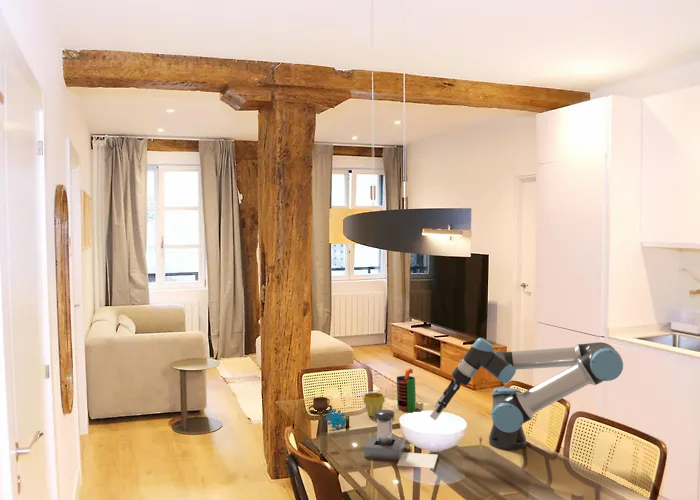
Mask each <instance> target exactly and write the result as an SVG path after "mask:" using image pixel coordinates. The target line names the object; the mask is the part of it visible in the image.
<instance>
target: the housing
mask: <svg viewBox="0 0 700 500" xmlns="http://www.w3.org/2000/svg"><path fill="white" fill-rule="evenodd" d="M405 440H406V437H404V436H401V437H400V436H392V446H385V445H377V435H371V434H370V437H369V439H368V440H367V442H366V443H365V445H364V446H363V456H364V458H371V459H381V460H382V459H385V460H398V461H399V459H400V457H401V455H402V453H403V452H404V451H405V448H406V441H405Z"/></svg>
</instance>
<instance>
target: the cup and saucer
mask: <svg viewBox="0 0 700 500" xmlns="http://www.w3.org/2000/svg"><path fill="white" fill-rule="evenodd" d="M311 407H313V408H314V409H315V410H317V411H314V410H310V408H311ZM328 407H330V409H329V410H326V409H327V408H328ZM308 410H309V411H310V412H312V413H315V412H324V413H329V411H330V410H333V405H331V404H330V399H329V398H328V397H326V396H318V397H313V399H312V405H310V406H309V407H308ZM323 410H324V411H323Z"/></svg>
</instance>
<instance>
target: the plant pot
mask: <svg viewBox="0 0 700 500" xmlns="http://www.w3.org/2000/svg"><path fill="white" fill-rule="evenodd" d="M362 396H363V397H362V399H363V403H364V405H365V409H366V413H367V416H368V417H372V418H375V417H374V412H375V411H378V410H383V405H384V403H385V395H384V393H382V392H367V393H364V394H363V395H362Z"/></svg>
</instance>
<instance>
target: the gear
mask: <svg viewBox="0 0 700 500" xmlns="http://www.w3.org/2000/svg"><path fill="white" fill-rule="evenodd" d="M332 412H333V413H332ZM325 416H326V418H325V421H328V422H327V424H328V426H330V425H331V428H332V429H334V428H335V426H336V430H340V428H341V429H343V428H344V427H345V426H346V424H347V421H348V420H349V416H345V413H344V412H343V413H342V412H341V410H340V409H338V411H337V409H336V408H333V409H331V410H330V411H328V412H326V415H325Z"/></svg>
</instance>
